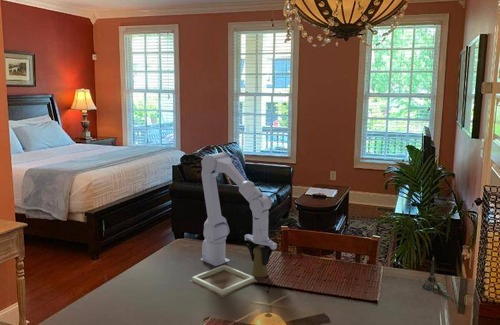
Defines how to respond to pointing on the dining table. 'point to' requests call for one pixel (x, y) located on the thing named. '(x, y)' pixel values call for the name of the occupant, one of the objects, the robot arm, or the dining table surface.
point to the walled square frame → (223, 291)
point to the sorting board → (223, 281)
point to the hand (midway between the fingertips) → (259, 262)
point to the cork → (258, 263)
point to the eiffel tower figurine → (434, 284)
